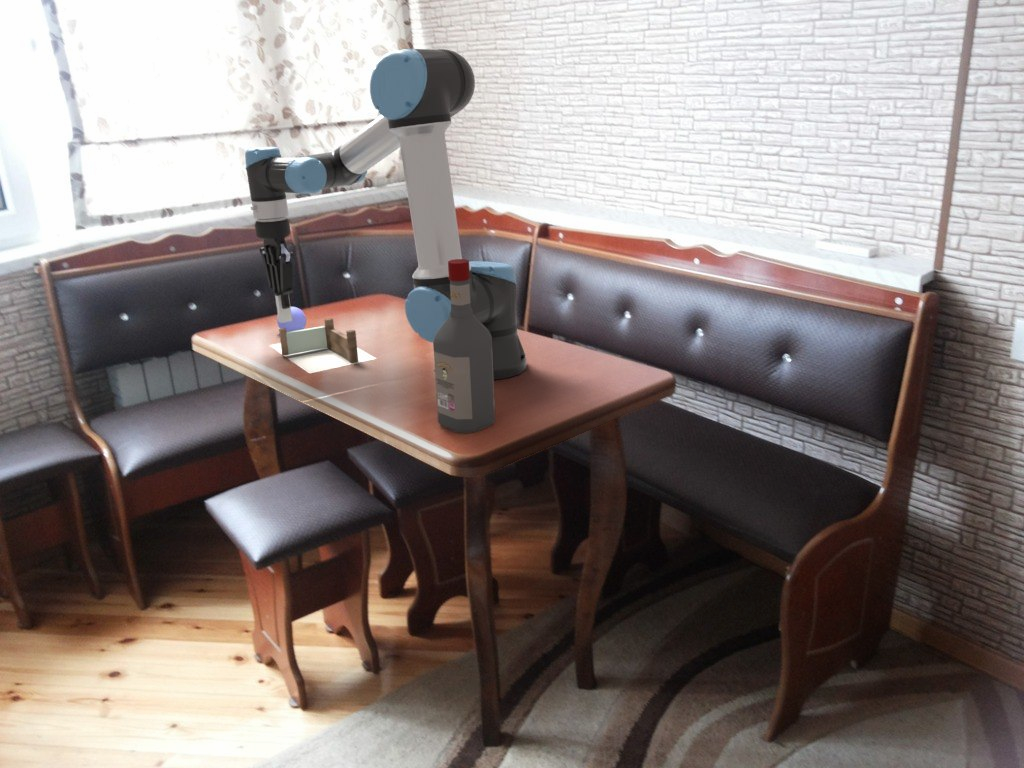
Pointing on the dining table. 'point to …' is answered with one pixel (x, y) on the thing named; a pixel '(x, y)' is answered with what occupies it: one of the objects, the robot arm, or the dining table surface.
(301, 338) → the folding fence panel
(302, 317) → the sphere
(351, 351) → the fixed fence section
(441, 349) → the liquor
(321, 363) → the card
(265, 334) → the dining table surface
